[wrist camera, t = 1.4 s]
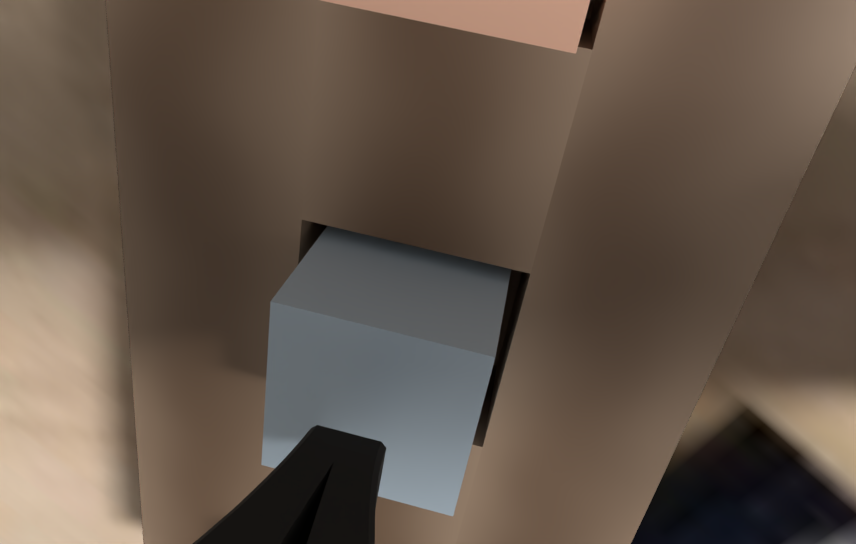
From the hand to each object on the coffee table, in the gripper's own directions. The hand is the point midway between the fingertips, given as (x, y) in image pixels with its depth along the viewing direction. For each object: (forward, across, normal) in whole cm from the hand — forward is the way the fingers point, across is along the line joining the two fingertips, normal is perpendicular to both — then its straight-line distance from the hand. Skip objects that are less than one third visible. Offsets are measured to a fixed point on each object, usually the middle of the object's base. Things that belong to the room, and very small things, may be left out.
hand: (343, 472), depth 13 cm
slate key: (+5, 0, 0) cm, 5 cm away
